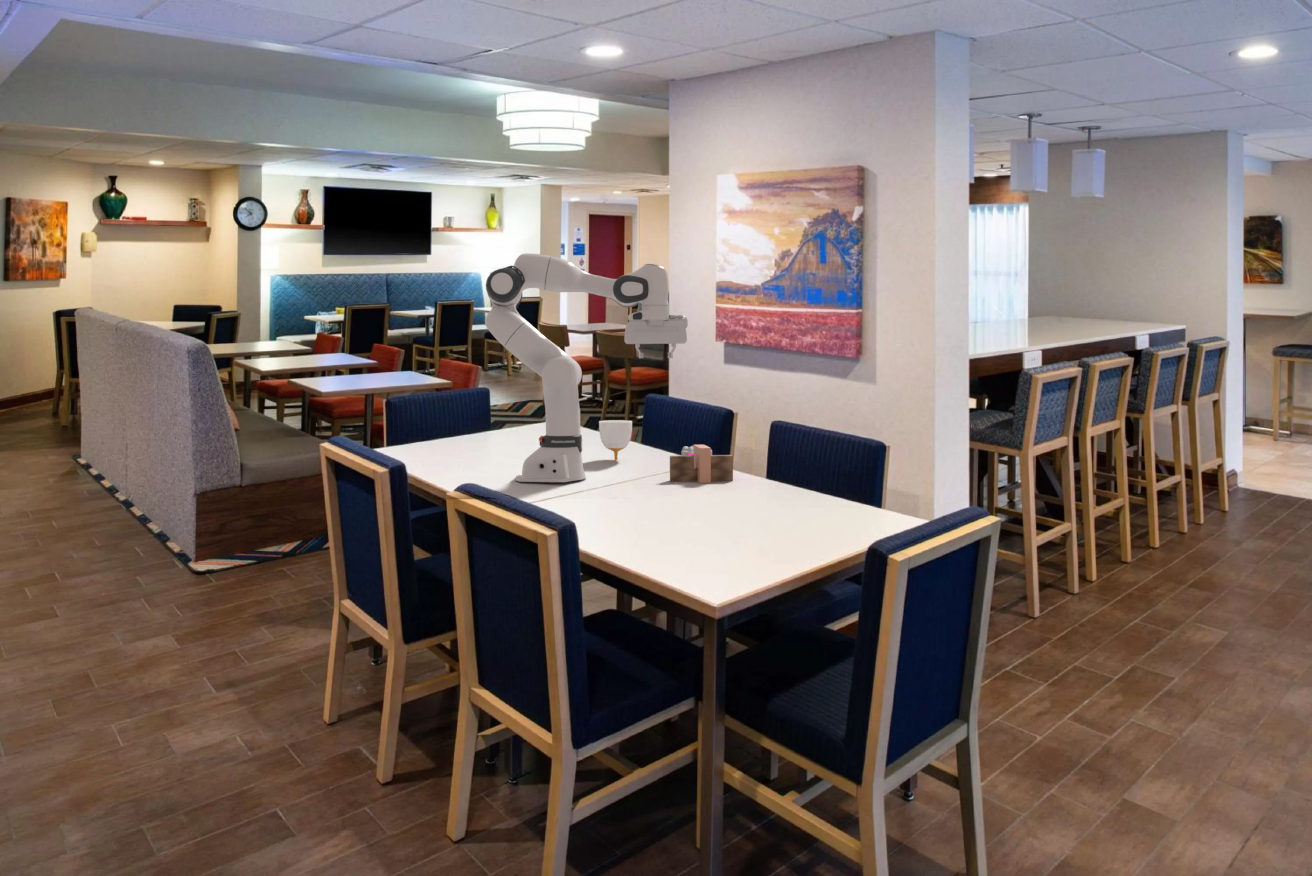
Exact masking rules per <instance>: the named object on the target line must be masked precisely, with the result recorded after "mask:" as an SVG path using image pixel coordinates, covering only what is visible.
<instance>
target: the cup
mask: <svg viewBox="0 0 1312 876" xmlns="http://www.w3.org/2000/svg"><path fill="white" fill-rule="evenodd" d="M598 427H599V428H598V429H599V430H598V431H599V438H600V440H601V443H602V445H603V447H605V448H606V449H607V450H610V451H611V452H613V453H614V461H618V454H619V452H620V451H622V450H623V449H626V448H627V447H628V445H629V444H630V442H631V438H632V432H633V420H626V419H625V420H624V419H622V420H621V419H618V420H617V419H616V420H615V419H613V420H612V419H611V420H610V419H609V420H608V419H607V420H599V421H598Z"/></svg>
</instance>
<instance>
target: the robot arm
mask: <svg viewBox="0 0 1312 876" xmlns="http://www.w3.org/2000/svg"><path fill="white" fill-rule="evenodd" d="M669 285H670V283H669V274H668V271H667V269H666V268H665V267H664V266H663V265H658V264H654V263H653V264H652V263H645V264H643V266H641V267H640V268H638V269H636V270H634V271H632V272H629V273H627V274H623V275H621V276H619V277H618V278H609V277H604V276H603V275H602V276H601V275H595V274H592V273H589V272H586V271H585V270H583V269H581V268H579V267H578V266H577V265H576V264H574V263H572V262H570V261H568V260H566V259H563V258H561V257H557V256H552V255H547V254H542V253H521V254H520V255H518V257H517V258H516V259H515V262H514V264H513V265H509V266H506V267H502V268H498V269H495V270H493V271H491V273H490V274H489V275H488V276H487V279H486V282H485V289H486V293H487V297H488V298H489V300H490V303H491V305H492V307H491V309H490V310H489V311H488V313H487V315H486V317H485V321H484V323H485V327H486V329H487V330H488V331H489V332H490V334H491V335H492V336H493V337H494V338H495V339H496V341H498V343H499V344H501V345H502V346H503V348H505V350H507V351H508V352H509V353H511V355H513V356H514V357H515V358H516V359H517V360H519V361H520V362H521V363H522V364H523V365H525V366H526V367H528V368H529V369H530V370H532V371H533V372H535V373H536V374H537V375H538V376H539V377H541V380H542V391H543V400H544V408H545V435H541V436H539V438H538V442H539V446H540V447H538V448H537V449H536V450H535V451H534V452H532V453H531V454H530V455H529V456H528V457H527V458H526V459H524V461H523V464H522V469H521V474H522V475H520V474H518V475H516V476H515V478H514V479H516V480H515V481H516V482H520V483H521V482H522V483H568V482H574V481H581V480H586V479H587V475H586V473H585V469H584V464H583V457H582V451H583V437H582V434H581V408H580V399H579V389H578V388H579V384H580V383H581V381H582V378H583V376H582V375H583V372H582V371H583V370H582V368H581V366H580V364H579V363H578V362H577V361H576V360H575V359H574V358H573V357H571V355H569V354H568V353H566V352H565V350H563V349H561V348H560V347H559V346H558V345H557V344H555V343H554V342H552V341H551V340H550V339H548V338H547V337H546V336H545V335H544V334H542V333H541V332H540V331H539V330H538V329H537V328H536V327H535V326H533V324H531V323H530V322H529V321H528V320H526V318H524V317H523V316H522V315H521V314H520V313H519V311H518V308H519V306H520V304H521V302H522V299H523V292H524V291H525V290H528V289H539V290H542V291H547V292H553V293H554V292H555V293H586V294H592V295H596V296H600V297H604V298H608V299H611V300H612V301H613V302H615V303H616V304H618V305H620V306H622V307H623V308H633V307H636V306H638V305H639V304H641V310H637V311H635V312H632V313H629V314H628V316H627V319H628V322H627V324H626V326H625V329H624V343H625V344H626V345H635V349H636V351H637V353H638V359H644V352H641V350H640V348H641V346H640V345H650V344H651V345H655V344H656V345H660V344H661V345H665V344H666V345H670V347H671V348H672V349H671V350H670V352H667V358H668V359H673V358H674V357H673V355H674V354H673V353H674V351H675V350H676V349H677V345H678V344H679V345H680V344H683V345H684V344H686V343H687V341H688V336H687V327H688V323H689V321H688V318H687V317H686V316H684V315H682V314H677V315H675V314H670V303H669V301H668V300H669V294H670V288H669V287H670V286H669Z"/></svg>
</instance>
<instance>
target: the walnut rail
mask: <svg viewBox="0 0 1312 876" xmlns="http://www.w3.org/2000/svg"><path fill="white" fill-rule="evenodd" d="M733 470H734V456H733V454H712V455H711V482H729V481H730V482H733V481H734V471H733ZM669 481H670V482H698V469H694V456H693V455H690V456H681V455H669Z"/></svg>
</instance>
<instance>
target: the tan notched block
mask: <svg viewBox="0 0 1312 876" xmlns="http://www.w3.org/2000/svg"><path fill="white" fill-rule="evenodd" d="M692 446H693V454H694V469H698V481H697V483H699V484H711V483H712V481H711V450H712V448H711V447H710V446H708V445H705V444H693V445H692Z"/></svg>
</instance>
